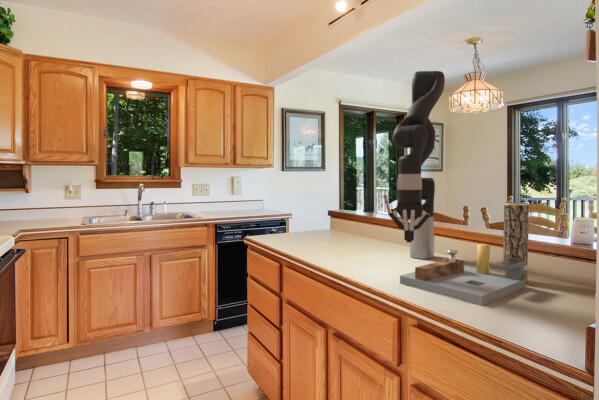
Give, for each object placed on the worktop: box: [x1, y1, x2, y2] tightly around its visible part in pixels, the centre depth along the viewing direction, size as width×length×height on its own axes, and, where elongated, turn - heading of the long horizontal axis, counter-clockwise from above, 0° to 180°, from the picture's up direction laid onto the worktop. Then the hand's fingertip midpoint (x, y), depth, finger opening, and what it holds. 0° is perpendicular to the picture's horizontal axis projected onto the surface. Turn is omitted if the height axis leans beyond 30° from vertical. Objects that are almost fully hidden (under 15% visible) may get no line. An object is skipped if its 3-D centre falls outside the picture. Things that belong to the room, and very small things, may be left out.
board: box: [399, 266, 526, 306], centre depth 114 cm, size 26×26×2 cm
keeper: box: [490, 258, 524, 281], centre depth 108 cm, size 12×4×8 cm, turn 127°
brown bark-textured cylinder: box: [502, 201, 530, 283], centre depth 118 cm, size 7×7×25 cm
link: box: [414, 257, 465, 281], centre depth 117 cm, size 21×6×4 cm, turn 127°
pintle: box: [446, 249, 458, 262], centre depth 121 cm, size 3×3×9 cm
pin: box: [476, 243, 491, 274], centre depth 118 cm, size 4×4×9 cm
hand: (409, 242), depth 119 cm, fingers closed
